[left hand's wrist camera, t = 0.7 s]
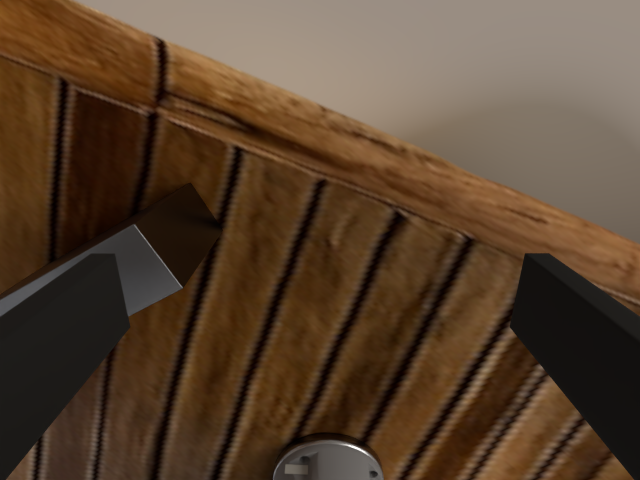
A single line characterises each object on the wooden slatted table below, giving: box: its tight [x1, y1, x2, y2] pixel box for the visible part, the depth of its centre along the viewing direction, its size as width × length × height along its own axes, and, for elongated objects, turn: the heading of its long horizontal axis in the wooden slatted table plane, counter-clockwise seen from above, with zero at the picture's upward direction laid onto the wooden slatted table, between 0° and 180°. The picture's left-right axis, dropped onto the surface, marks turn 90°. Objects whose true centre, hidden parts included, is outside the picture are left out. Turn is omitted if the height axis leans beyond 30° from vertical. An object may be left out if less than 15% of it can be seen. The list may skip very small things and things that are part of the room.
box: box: [0, 183, 223, 316], centre depth 36 cm, size 20×6×13 cm, turn 118°
